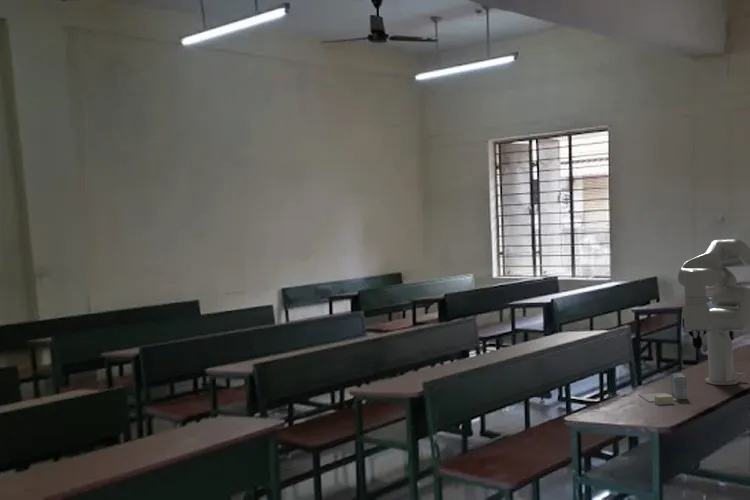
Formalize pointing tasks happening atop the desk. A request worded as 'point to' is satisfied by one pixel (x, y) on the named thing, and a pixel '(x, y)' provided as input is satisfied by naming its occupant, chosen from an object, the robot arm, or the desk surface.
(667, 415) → the desk surface
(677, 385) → the medicine box
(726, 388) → the desk surface
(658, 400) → the pale yellow faceted block
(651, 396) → the mat
